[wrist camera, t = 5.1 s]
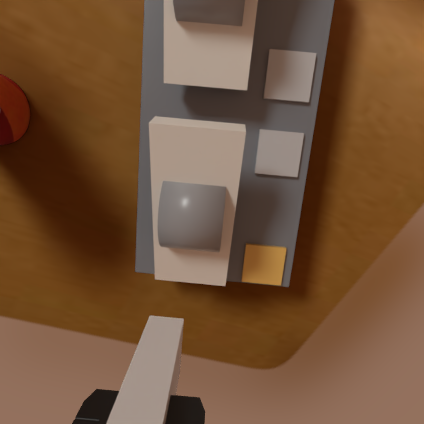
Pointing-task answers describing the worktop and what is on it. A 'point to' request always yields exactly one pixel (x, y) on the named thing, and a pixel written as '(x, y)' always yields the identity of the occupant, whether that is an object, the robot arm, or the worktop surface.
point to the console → (248, 131)
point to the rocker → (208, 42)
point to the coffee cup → (12, 111)
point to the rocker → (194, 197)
